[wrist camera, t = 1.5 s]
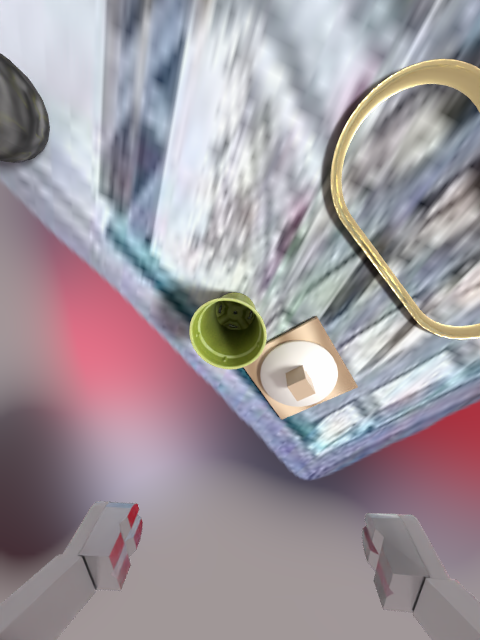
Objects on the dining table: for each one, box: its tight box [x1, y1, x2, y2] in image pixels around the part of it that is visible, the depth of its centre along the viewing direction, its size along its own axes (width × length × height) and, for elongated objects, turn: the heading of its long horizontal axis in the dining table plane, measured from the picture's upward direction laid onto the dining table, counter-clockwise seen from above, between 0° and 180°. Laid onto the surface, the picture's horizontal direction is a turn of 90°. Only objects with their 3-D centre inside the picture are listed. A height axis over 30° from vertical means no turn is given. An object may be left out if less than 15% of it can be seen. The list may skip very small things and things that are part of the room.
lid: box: [260, 340, 338, 407], centre depth 39 cm, size 12×12×4 cm
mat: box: [244, 316, 358, 420], centre depth 41 cm, size 14×14×1 cm
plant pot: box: [189, 293, 267, 369], centre depth 34 cm, size 9×9×9 cm
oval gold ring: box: [330, 59, 480, 339], centre depth 31 cm, size 19×35×2 cm, turn 43°
